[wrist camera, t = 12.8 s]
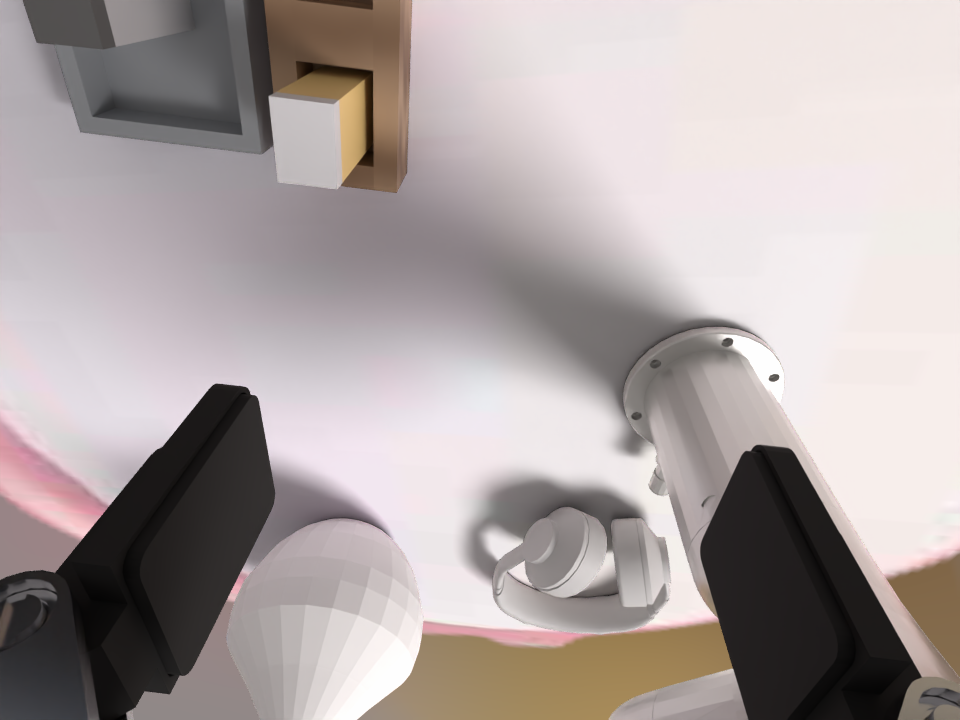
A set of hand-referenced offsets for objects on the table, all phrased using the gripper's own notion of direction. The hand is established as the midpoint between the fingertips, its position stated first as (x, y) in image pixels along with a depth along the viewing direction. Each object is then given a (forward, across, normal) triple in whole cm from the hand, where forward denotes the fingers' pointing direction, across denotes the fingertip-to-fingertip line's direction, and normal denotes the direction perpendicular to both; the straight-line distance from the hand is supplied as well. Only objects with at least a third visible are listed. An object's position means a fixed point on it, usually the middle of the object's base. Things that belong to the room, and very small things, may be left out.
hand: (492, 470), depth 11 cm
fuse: (+28, +11, -1) cm, 30 cm away
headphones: (+32, -12, +43) cm, 55 cm away
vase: (+31, +13, +45) cm, 56 cm away
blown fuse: (+28, +21, -6) cm, 36 cm away
